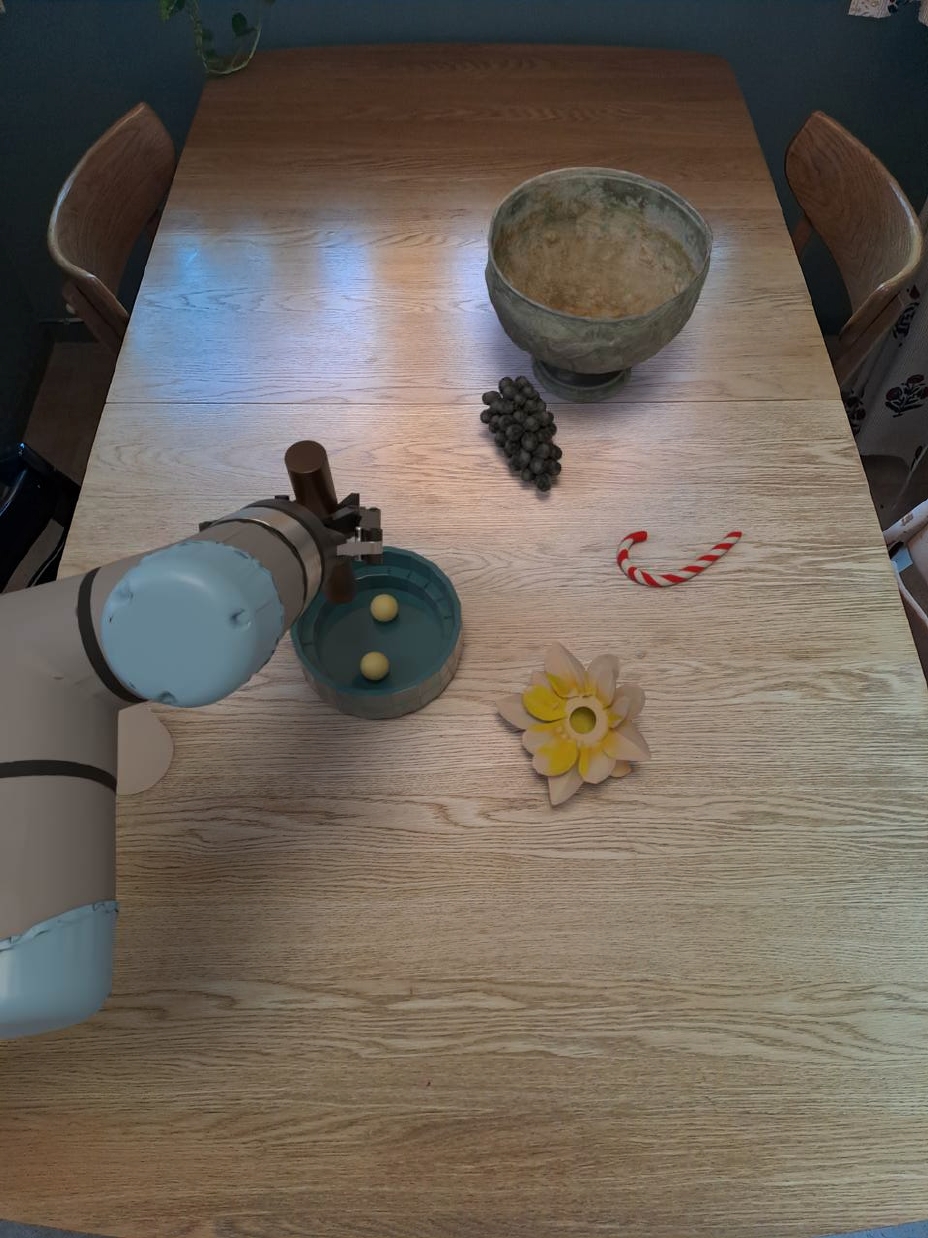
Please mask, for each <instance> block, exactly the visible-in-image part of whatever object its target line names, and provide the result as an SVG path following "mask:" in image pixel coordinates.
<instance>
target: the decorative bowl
mask: <svg viewBox="0 0 928 1238" xmlns="http://www.w3.org/2000/svg"><path fill="white" fill-rule="evenodd" d="M713 241H714V236H713V231H712V227H711V226H710V224H709V223H708V221H707V220H706V219H705V217H704V216H703V215H702V214H701V213H700V212H699V211H698V210H697V208H696V207H695V206H693V204H692V203H690V201H689V200H687V199H686V198H685V197H684V196H683V195H681V194H680V193H679V192H677V191H676V190H674V189H673V188H671V186H669V185H666V184H664V183H662V182H660V181H658V180H655V179H652V178H647V177H646V176H643V175H641V174H637V173H633V172H630V171H627V170H620V169H615V168H607V167H606V168H605V167H601V166H600V167H598V166H575V167H573V166H572V167H564V168H559V169H554V170H551V171H547V172H544V173H542V174H538V175H536V176H533V177H532V178H530V179H527V180H525V181H523V182H522V183H520V184H519V185H518V186H515V188H513V189H512V190H511V191H510V192H509V193H507V194H506V195H504V197H503V198H502V199H501V201H500V202H499V203H498V205H497V206H496V208H495V209H494V211H493V213H492V216H491V220H490V223H489V228H488V234H487V248H488V250H487V263H486V266H485V269H484V280H485V284H486V288H487V292H488V293H487V294H488V297H489V301H490V303H491V305H492V308H493V310H494V311H495V314H496V316H497V318H498V321H499V323H500V326H501V328H502V330H503V332H504V333H505V334H506V336H507V337H508V339H510V341H511V342H512V343H513V344H514V345H515V347H516V346H517V348H519V349H521V351H524V352H526V353H528V354H529V355H531V356H530V367H531V370H532V373H533V375H534V377H535V378H536V380H537V381H538V383H539V385H541V386H542V387H543V388H544V389H545V390H546V391H547V392H548V393H550V394H552V395H554V397H555V396H556V397H557V398H559V399H563V400H567V401H570V402H577V403H593V402H598V401H603V400H605V399H608V398H611V397H613V396H615V395H616V394H618V393H619V392H621V391H622V390H623V389H624V388H625V387H626V386H627V384H628V383H629V381H630V379H631V375H632V370H633V367H634V366H637V365H640V364H641V363H645V362H646V361H647V360H649V359H651V358H652V357H653V358H654V357H655V356H656V355H657V354H658V353H659V352H660V351H661V350H662V349H663V348H665V347H666V346H668V345H669V344H670V343H671V342H672V341H673V340H674V339H675V338H676V337H677V336H678V335H679V334H681V331H682V330H683V328H684V327H685V326H686V325H687V323H688V322H689V320H690V319H691V317H692V316H693V313H694V310H695V309H696V308H695V307H696V305H697V303H698V302H699V299H700V296H701V293H702V290H703V288H704V285H705V282H706V280H707V276H708V273H709V272H710V271H709V270H710V266H711V254H712V249H713Z"/></svg>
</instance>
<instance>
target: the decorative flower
mask: <svg viewBox="0 0 928 1238" xmlns="http://www.w3.org/2000/svg"><path fill="white" fill-rule="evenodd" d="M544 664H545V671H543V670H540V669H534V668H533V669H532V670H531V673H530V678H529V680H530V685H528V686H527V687H526V688H525V689H524V691H523V692H522V693H518V694H514V695H511V696H507V697H503V698H499V699H497V700H495V707H496V709H497V711H498V714H499V715H501V717H503V718H504V720H506V721H507V722H508V723H510V724H512V725H513V726H515V727H517V728H518V729H523V730H525V731H524V732H523V733H522V735H521V739H522V740H521V741H522V746H523V747H524V748H525V749H526V751H527V752H528V753H530V754H531V755H533V757H532V761H531V766H532V767H533V768H534V770H535V771H536V772H537V774H541V775H544V776H545V777H546V776H547V781H548V790H549V799H550V803H551V806H557V805H559V804H562V803H564V802H566V801H568V800H569V799H570V798H571V797H572V796H573V795H574V794H575V793H576V792H577V791H578V789H579V788H580V787H581V786H582V784H584V782H585V783H591V784H599V783H601V782H602V781H604V780H606V779H607V778H609V776H611V777H614V778H621V777H624V776H626V775H628V774H629V773H630V772H631V771H632V767H631V765H630V764H629V763H628V761H632V762H633V761H634V762H635V761H636V762H637V761H638V762H639V761H640V762H645V761H648V762H649V761H651V760H652V753H651V750H650V746H649V743H648V742H647V740H646V738H645V737H644V735H643V734H642V732H641V731H640V730H639V729H638V728H637V726H636V725H635V724H634V723H633V722H632V720H634V719H636V718H638V717H639V715H641V713H642V711H643V709H644V707H645V705H646V694H645V689H644V688H643V687H642V686H641V685H639V684H638V683H637V682H628V683H624V684H622V685H620V686H618V687H617V681H618V679H619V677H620V675H621V671H622V667H623V664H622V662H621V660H620V659H619V656H617V655H614V654H612V653H603V654H601V655H599V656H597V657H595V658H594V659H592V660H591V661H590V663H589V664H588V666H587V668H585V667H584V665H583V663H582V661H580V660H579V659H578V658H577V657H576V656H575V655H574V654H573V653H572V652H571V651H570V650H569V649H567V648H566V647H565V646H564V645H563V644H562V643H560V642H559V641H558V640H556V641H555V642H553V643H552V644H551V646H550V647H549V648H548V650H547V651H546V655H545V661H544Z"/></svg>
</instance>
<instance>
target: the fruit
mask: <svg viewBox="0 0 928 1238" xmlns="http://www.w3.org/2000/svg"><path fill="white" fill-rule="evenodd" d="M497 386H498V387H497V388H498V391H497V390H488V391H485V392H483V394H482V396H481V401H482V403H483V405H485V406H489V407H488V408H486V409H484V410H482V412H481V413H480V414H479V418H480V422H481V423H482V424H484V425H487V427H488V430H489V432H490V433H491V434H493V435H494V439H493V441H494V445H495V446H496V447H497V448H499V449H500V448H501V449H502V455H503V456H504V457H505V458H506V459H508V460H509V462H508V464H507V466H508V468H509V469H510V470H511V471H512V472H515V473H517V472H520V478H521V480H523V481H524V482H526V483H530V482H534V483H535V485H536V487H537V490H538V491H539V492H541V493H546V492H549V491H550V490H551V489H552V486H553V481H552V478H551V477H555V478H556V477H558V476H559V475H560V474H561V472H562V469H563V467H562V463H560V462H559V461H560V460H561V459H562V458H563V453H564V452H563V450H562V448H560V446H558V445H556V444H555V443H554V440H553V437H554V436H555V435H556V434H557V432H558V427H557V425H556V424H555V423H554V421H555V415H554V413H553V412H552V411H549V410H547V409H548V404H547V402H546V401H545V400H544V399H543V398H542V397H541V394H540V392H539V391H538V390H537V389H535V386H534V385H533V383H532V382H530V380H529V379H528V377H527V376H525V375H518V376H516V378H515V379H512V378H511V377H510V376H503V377H501V378H500V379H499V381H498V385H497Z"/></svg>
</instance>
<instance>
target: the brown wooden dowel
mask: <svg viewBox="0 0 928 1238" xmlns="http://www.w3.org/2000/svg"><path fill="white" fill-rule="evenodd" d="M283 460H284V465H285V468H286V471H287V473H288V477H289V481H290V485H291V487H292V491H293V494H294V497H295V499H296V501H297V504H300V505H302V506H303V507H305V508H307V509H308V510H309V511H311V512H312V513H313V514H321V515H329V514H332V513H334V512H336V511H338V504H339V502H338V496H337V493H336V492H337V491H336V488H335V484H334V480H333V479H334V478H333V475H332V471H331V466H330V461H329V457H328V453H327V450H326V448H325V447H324V445H322V444H321V443H320V442H318V441H315V440H311V439H310V440H309V439H304V440H299V441H297V442H294V443H293V444H291V445H290V446H289V447H288V448H287V449H286V451H285V454H284V459H283ZM323 591H324V594H325V597H326V598H327V600H328V601H330V602H331V603H334V604H339V605H341V604H346V603H348V602H350V601H351V600H353V599H354V597H355V596H356V594H357V584H356V579H355V575H354V571H353V566H352V562H351V558H350V555H347V559H346V561H345V562H344V563H343V564H341V565H337V566H334V568H333V570H332V573H331V575H330V577H329V579H328V581H327V583H326V585H325V586H324V588H323Z"/></svg>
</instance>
